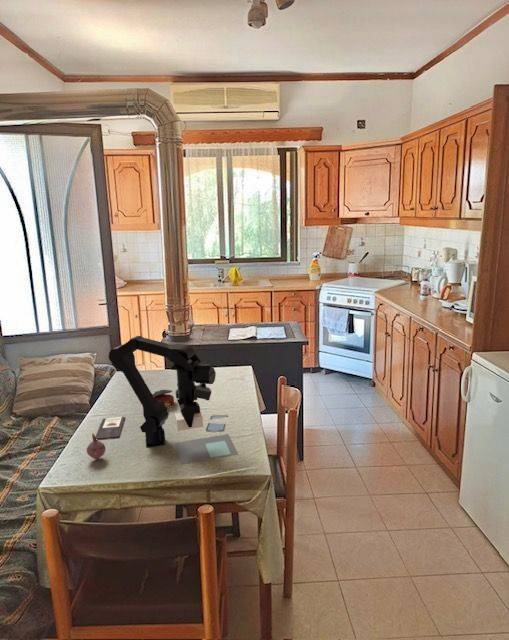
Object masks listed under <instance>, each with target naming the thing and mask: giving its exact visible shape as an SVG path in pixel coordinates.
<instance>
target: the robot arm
mask: <svg viewBox="0 0 509 640" xmlns="http://www.w3.org/2000/svg"><path fill="white" fill-rule="evenodd" d="M137 350H138V351H141V352H146V353H147V354H148V353H149V354H152V355H156V356H159V357H160V356H161V357H164V358H166V359H167V360H168V361H169V362H171V363H173V365H172V366H171V367H170V370H172V371H176V379H177V383H176V385H177V389H176V390H175V398H176V399H177V400H176V401H177V404H178V406H179V408H180V413H181V414H182V416H183V417H184V419H185V421H186V423H187V425H188V427H192V424H193V419H194V414H197V413H200V412H201V407H200V404H199V403H198V402H197V400H198V399H200V400H201V399H202V400H206V401H210V398H211V395H212V390H211V388H210V387H208V386H207V385H214V383H215V380H216V376H217V375H216V374H217V373H216V370H215V368H214V367H213V363H202V361H201V359H200V357H199V356H198V355H197V354H196V352H195V350H194V348H193V346H192V345H190V344H181V343H176V344H170V343H166V342H161V341H159V340H155V339H152V338H151V339H150V338H147V337H143V336H141V335H136V336H134V337H131V338H130V339H129V340H128V341H126V342H125V343H124V344H120V345H118V346H117V347H114V348H112V349H110V350H109V352H108V360H109V361H110V363H111V364H112V365H113V367H114V368H116V369H117V370H118V371H121V372H122V374H123V375H124V377H125V378H126V380H127V382H128V383H129V385H130V387H131V388H132V391H133V392H134V394H135V396H136V397H137V399H138V401H139V402H140V404H141V406H142V414H143V418H144V422H143V423H142V425H140V426H139V428H140V430H141V432H142V433H145V436H144V437H145V447H146V448H153V447H159V446H164V445H165V442H166V433H165V432H166V431H165V428H163V425H165V423H166V421H167V420H168V418H169V415H170V414H169V408H167V407H166V406H165V404H164V402H163V401H161V402H159V401H157V400H155V398H154V397H153V393H152V391H151V390H150V389H149V386H148V385H147V383H146V381H145V380H144V378H143V376H142V374H141V373H140V371H139V369H138V368H137V366H136V359H135V354H134V352H136V351H137ZM195 383H196V384H197V385H196V384H195Z"/></svg>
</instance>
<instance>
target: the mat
mask: <svg viewBox="0 0 509 640" xmlns="http://www.w3.org/2000/svg"><path fill="white" fill-rule="evenodd" d="M174 444H175V449H176V452H177V457H178V460H179V461H178V462H179V464H180V465H187V464H191V463H196V462H197V463H198V462H203V461H208V460H214V459H220V458H226V457H230V456H231V457H232V456H237V455H239V452H238V451H237V448H236V446H235V445H234V443H233V441H232V439H231V437H230V435H229V433H228V434H220V435H214V436H209V437H208V436H207V437H202V438H201V437H200V438H196V439H190V440H184V441H183V440H182V441H176V442H174Z"/></svg>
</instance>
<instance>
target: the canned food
mask: <svg viewBox="0 0 509 640" xmlns="http://www.w3.org/2000/svg"><path fill="white" fill-rule="evenodd" d="M172 392H173V390H170V389H161V390H158V391H157V390H156V391H154V393H152V395H153V397H154V398H155V400H157V401H159V402H161V401H163V402H164V404H165V406H166V407H167V408H168V407H169V408H171V407H173V406H174V405H175V397H174V395H172V394H170V393H172ZM172 405H173V406H172ZM170 406H171V407H170ZM169 408H168V409H169Z"/></svg>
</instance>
